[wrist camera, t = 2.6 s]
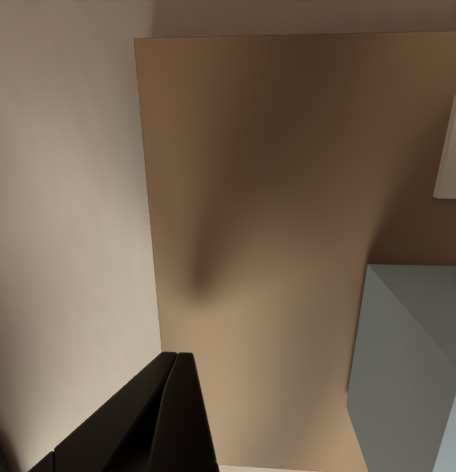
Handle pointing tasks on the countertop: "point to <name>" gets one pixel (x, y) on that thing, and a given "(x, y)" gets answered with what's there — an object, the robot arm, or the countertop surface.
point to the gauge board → (290, 217)
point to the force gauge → (406, 369)
